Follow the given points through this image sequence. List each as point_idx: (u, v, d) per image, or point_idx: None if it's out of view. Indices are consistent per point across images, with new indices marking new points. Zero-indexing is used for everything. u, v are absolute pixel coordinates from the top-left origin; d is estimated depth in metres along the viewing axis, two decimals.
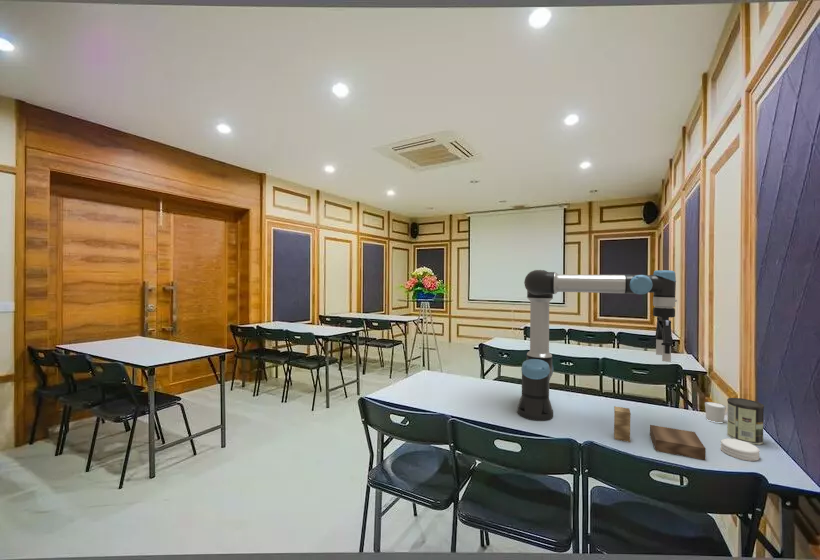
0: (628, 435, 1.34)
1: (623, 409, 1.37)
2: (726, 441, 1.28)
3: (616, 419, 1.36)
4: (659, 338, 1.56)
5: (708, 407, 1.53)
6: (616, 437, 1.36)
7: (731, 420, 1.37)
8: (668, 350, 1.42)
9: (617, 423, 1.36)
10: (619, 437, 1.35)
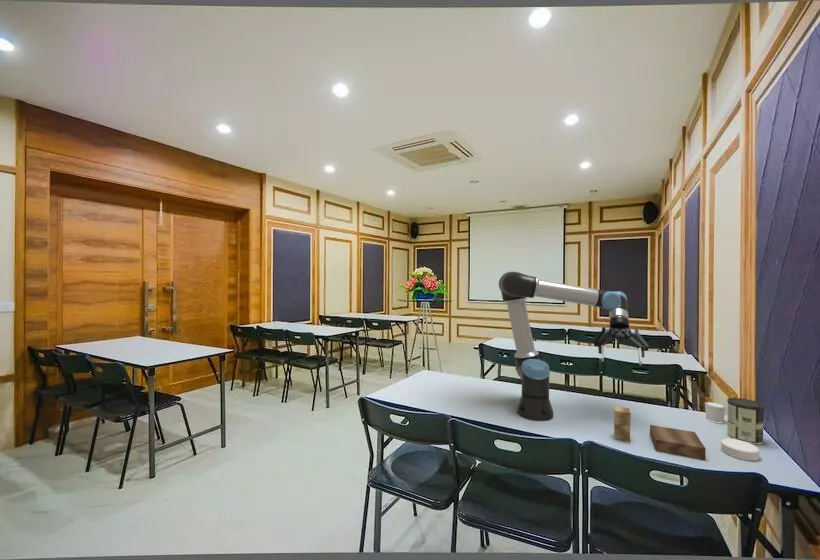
0: (628, 435, 1.34)
1: (623, 409, 1.37)
2: (726, 441, 1.28)
3: (616, 419, 1.36)
4: (601, 345, 1.55)
5: (708, 407, 1.53)
6: (616, 437, 1.36)
7: (731, 420, 1.37)
8: (644, 354, 1.47)
9: (617, 423, 1.36)
10: (619, 437, 1.35)
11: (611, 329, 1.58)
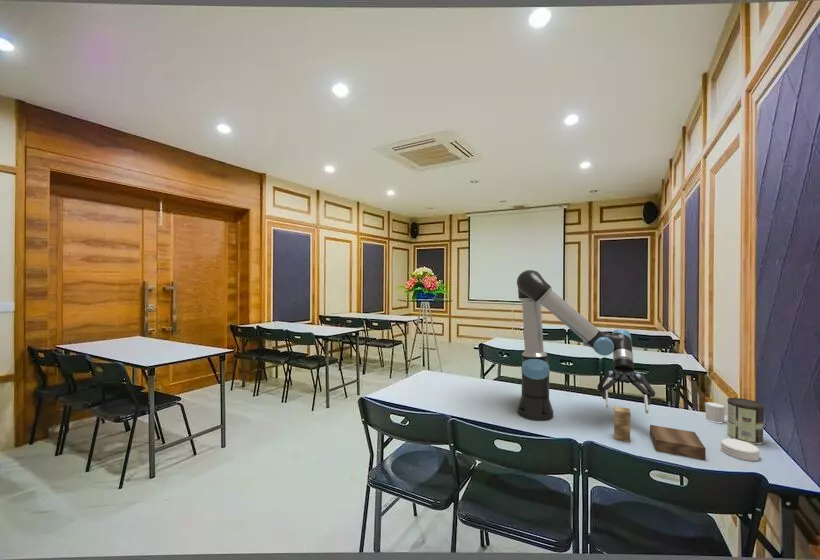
0: (628, 435, 1.34)
1: (623, 409, 1.37)
2: (726, 441, 1.28)
3: (616, 419, 1.36)
4: (605, 389, 1.48)
5: (708, 407, 1.53)
6: (616, 437, 1.36)
7: (731, 420, 1.37)
8: None
9: (617, 423, 1.36)
10: (619, 437, 1.35)
11: (615, 372, 1.51)
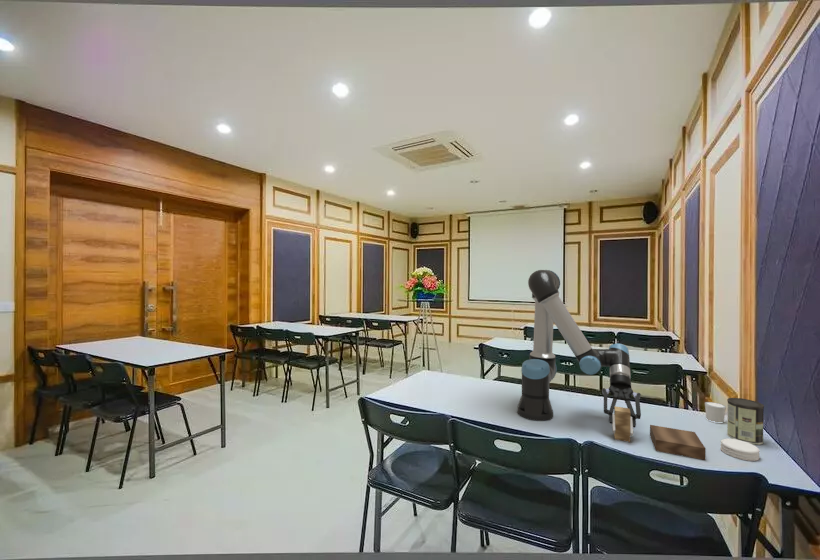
0: (628, 435, 1.34)
1: (623, 409, 1.37)
2: (726, 441, 1.28)
3: (616, 419, 1.36)
4: None
5: (708, 407, 1.53)
6: (616, 437, 1.36)
7: (731, 420, 1.37)
8: None
9: (617, 423, 1.36)
10: (619, 437, 1.35)
11: (612, 388, 1.45)
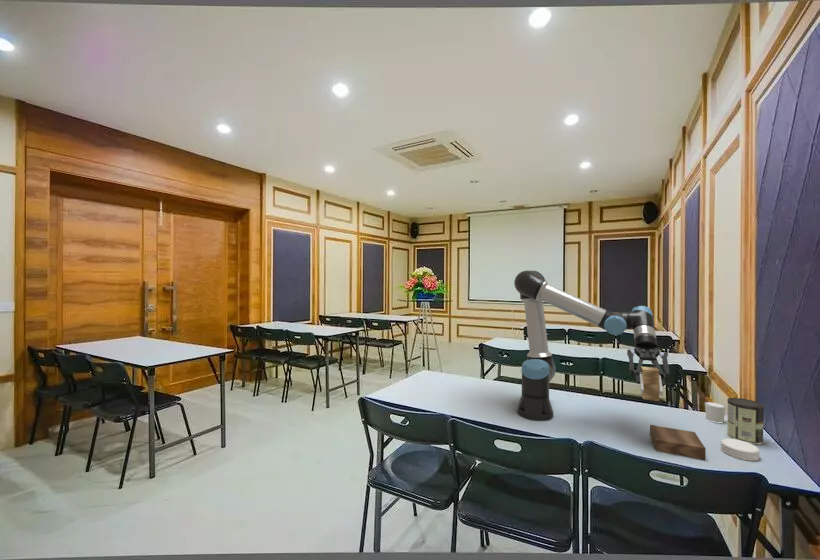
0: (657, 394, 1.30)
1: (651, 368, 1.33)
2: (726, 441, 1.28)
3: (644, 378, 1.32)
4: None
5: (708, 407, 1.53)
6: (644, 397, 1.32)
7: (731, 420, 1.37)
8: None
9: (645, 382, 1.32)
10: (647, 397, 1.31)
11: (637, 349, 1.41)
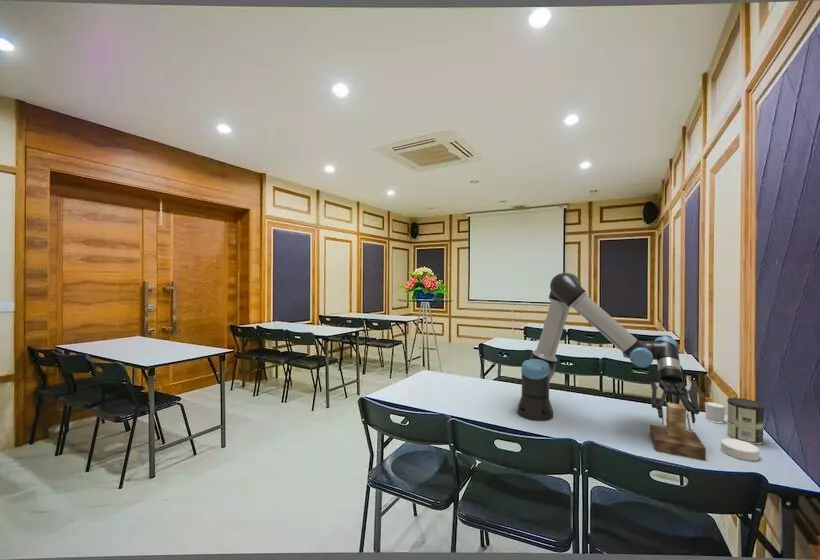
0: (683, 433, 1.27)
1: (677, 405, 1.30)
2: (726, 441, 1.28)
3: (670, 416, 1.29)
4: None
5: (708, 407, 1.53)
6: (670, 435, 1.29)
7: (731, 420, 1.37)
8: None
9: (671, 420, 1.29)
10: (673, 435, 1.29)
11: (662, 382, 1.38)
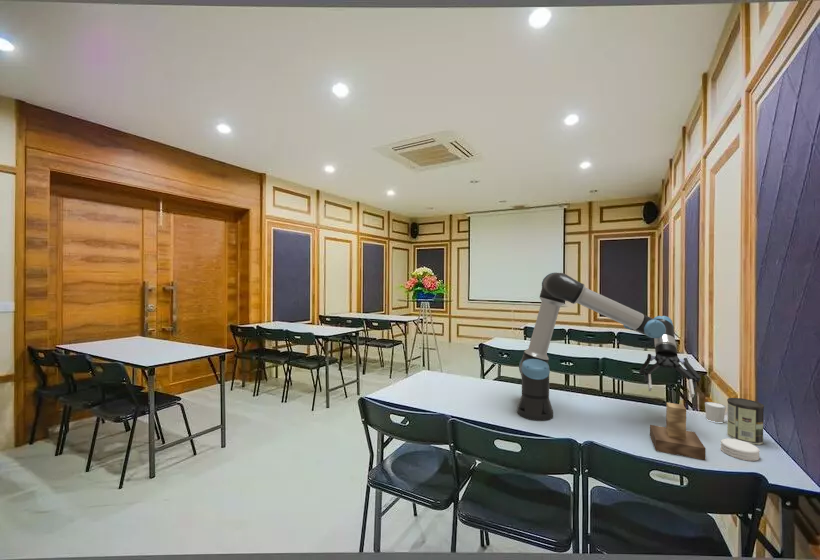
0: (683, 433, 1.27)
1: (677, 405, 1.30)
2: (726, 441, 1.28)
3: (670, 416, 1.29)
4: None
5: (708, 407, 1.53)
6: (670, 435, 1.29)
7: (731, 420, 1.37)
8: None
9: (671, 420, 1.29)
10: (673, 435, 1.29)
11: (658, 357, 1.51)
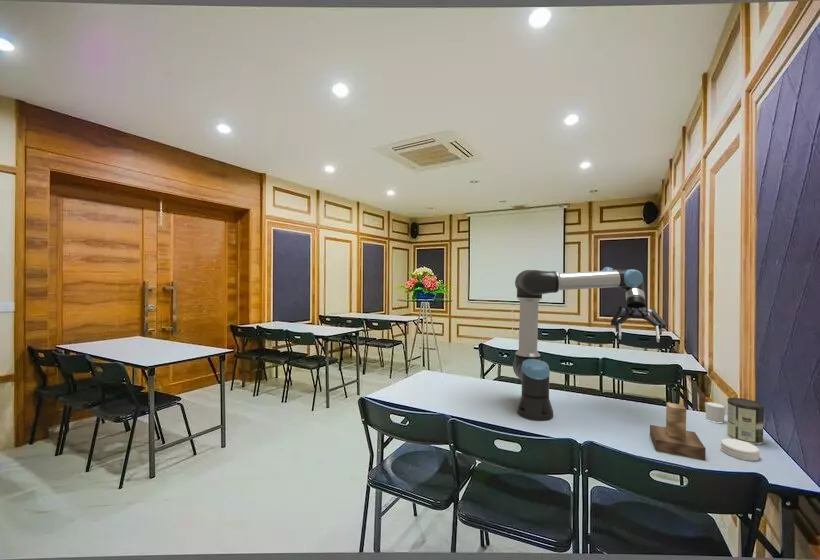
0: (683, 433, 1.27)
1: (677, 405, 1.30)
2: (726, 441, 1.28)
3: (670, 416, 1.29)
4: (618, 324, 1.57)
5: (708, 407, 1.53)
6: (670, 435, 1.29)
7: (731, 420, 1.37)
8: None
9: (671, 420, 1.29)
10: (673, 435, 1.29)
11: (628, 308, 1.60)
